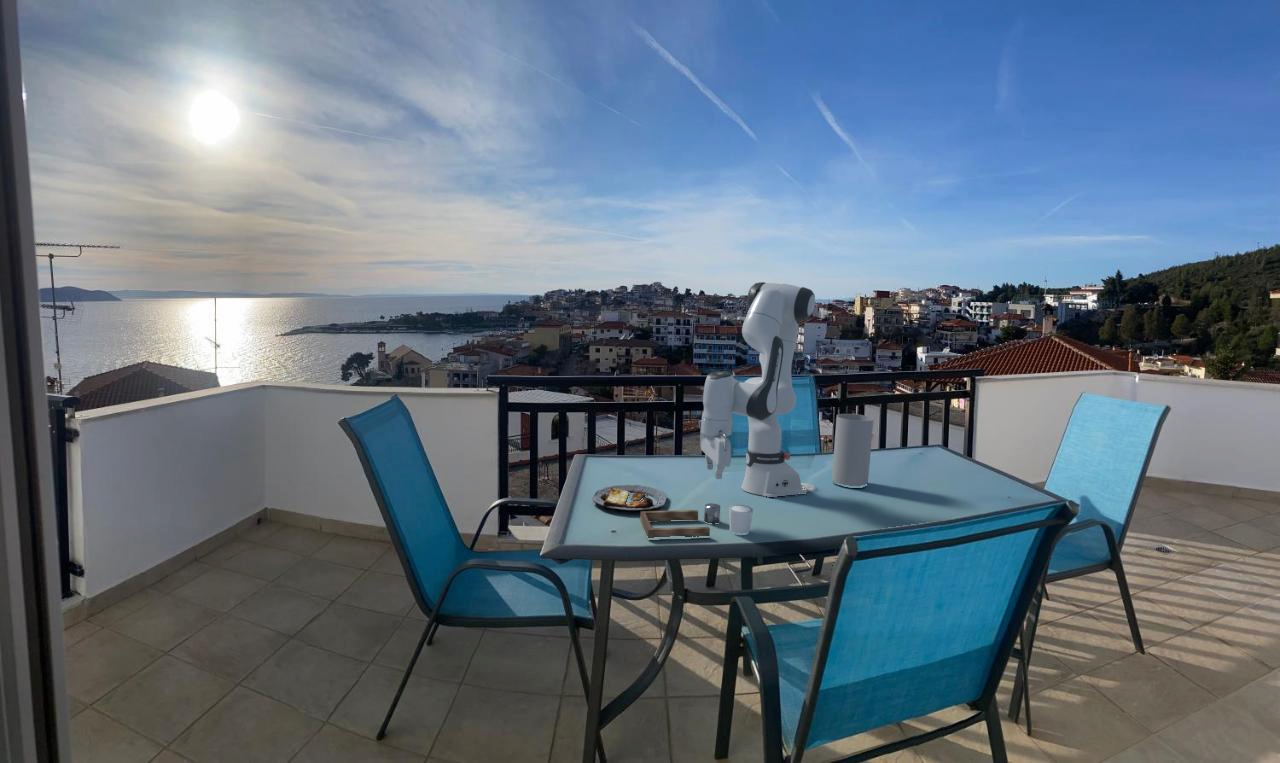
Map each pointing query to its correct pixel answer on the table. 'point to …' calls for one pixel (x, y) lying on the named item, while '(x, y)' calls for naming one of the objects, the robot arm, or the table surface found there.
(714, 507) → the grey rounded piece
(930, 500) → the table surface
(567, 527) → the table surface
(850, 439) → the cylinder vase
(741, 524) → the shot glass
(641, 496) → the food plate
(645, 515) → the wooden u-shaped frame
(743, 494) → the table surface
